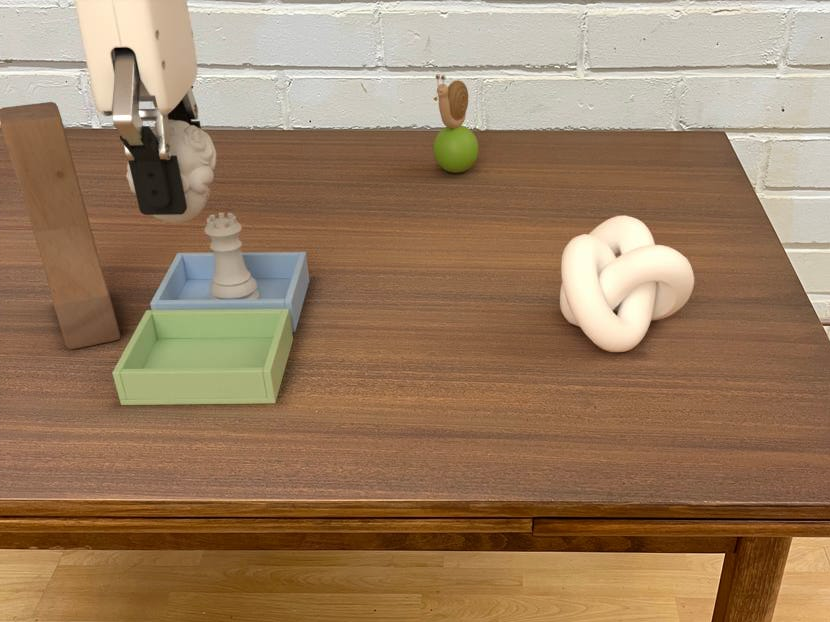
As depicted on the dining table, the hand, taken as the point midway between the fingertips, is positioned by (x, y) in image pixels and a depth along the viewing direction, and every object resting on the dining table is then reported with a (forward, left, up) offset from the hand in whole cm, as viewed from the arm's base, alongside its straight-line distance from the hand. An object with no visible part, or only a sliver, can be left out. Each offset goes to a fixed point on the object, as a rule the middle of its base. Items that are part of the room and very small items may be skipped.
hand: (176, 191), depth 70 cm
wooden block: (-13, +8, -15) cm, 22 cm away
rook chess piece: (0, +11, -15) cm, 19 cm away
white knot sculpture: (+34, +7, -15) cm, 38 cm away
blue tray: (0, +11, -15) cm, 19 cm away
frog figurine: (0, 0, -2) cm, 2 cm away
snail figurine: (+20, +45, -15) cm, 51 cm away
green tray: (0, 0, -15) cm, 15 cm away
